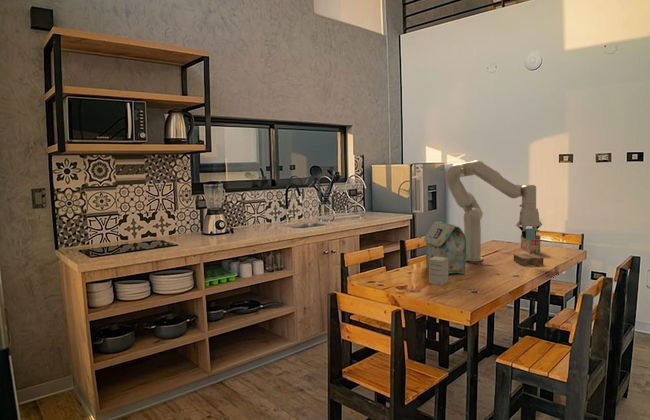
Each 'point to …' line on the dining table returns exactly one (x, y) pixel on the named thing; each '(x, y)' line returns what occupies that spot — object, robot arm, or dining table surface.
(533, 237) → the teal block
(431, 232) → the lunch bag
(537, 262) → the walnut block
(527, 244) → the stack of blocks
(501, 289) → the dining table surface
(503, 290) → the dining table surface
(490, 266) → the dining table surface
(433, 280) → the supplement box
